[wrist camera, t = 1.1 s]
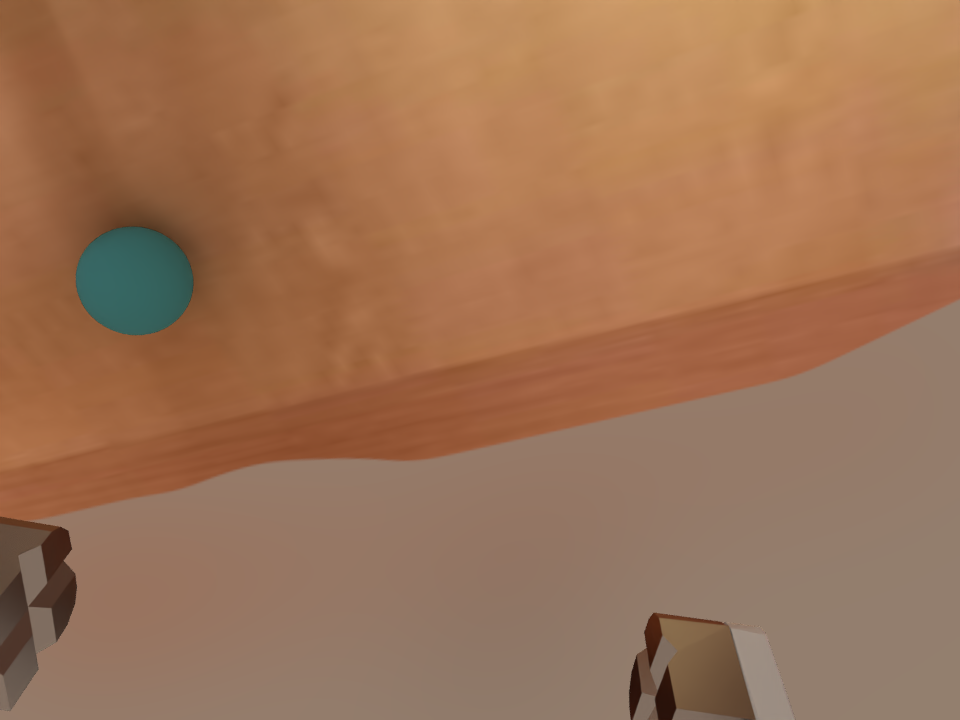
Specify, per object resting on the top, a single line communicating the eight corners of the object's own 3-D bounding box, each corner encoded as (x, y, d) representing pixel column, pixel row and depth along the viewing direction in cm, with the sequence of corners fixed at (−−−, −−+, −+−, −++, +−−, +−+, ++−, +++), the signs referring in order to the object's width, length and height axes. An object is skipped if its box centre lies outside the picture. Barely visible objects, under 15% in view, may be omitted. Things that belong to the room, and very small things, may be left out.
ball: (73, 249, 46) (33, 294, 41) (150, 190, 45) (118, 229, 40) (150, 323, 49) (121, 373, 44) (224, 269, 48) (204, 316, 43)
